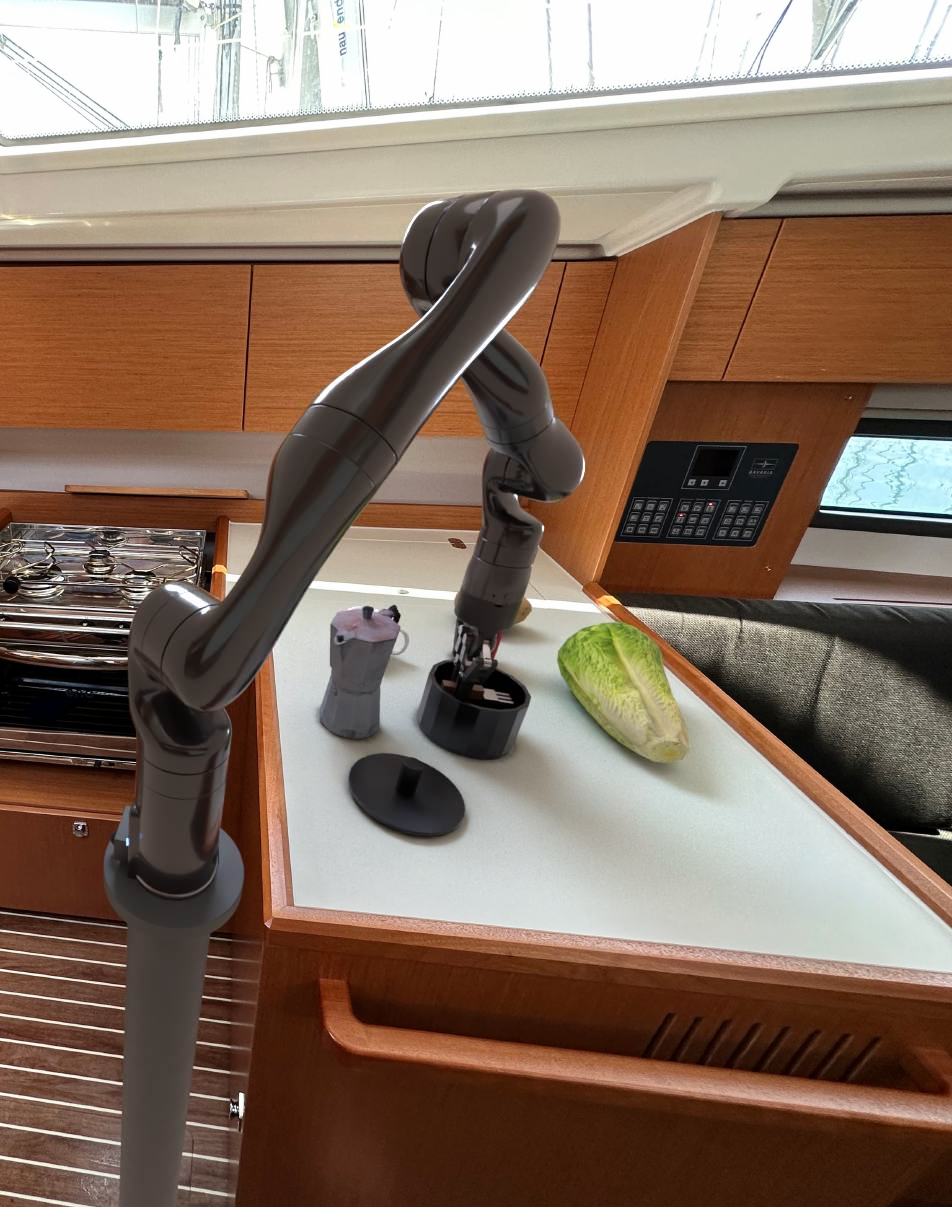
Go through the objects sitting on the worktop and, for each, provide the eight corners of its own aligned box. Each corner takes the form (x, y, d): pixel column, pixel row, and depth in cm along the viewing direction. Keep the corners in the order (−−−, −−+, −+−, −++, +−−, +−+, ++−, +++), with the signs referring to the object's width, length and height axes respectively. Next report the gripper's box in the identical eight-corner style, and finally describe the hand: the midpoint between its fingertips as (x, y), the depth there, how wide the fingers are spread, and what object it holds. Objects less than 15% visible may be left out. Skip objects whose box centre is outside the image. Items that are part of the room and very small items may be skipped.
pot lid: (351, 826, 75) (359, 792, 72) (344, 751, 87) (351, 719, 85) (474, 850, 72) (488, 815, 70) (450, 769, 85) (460, 737, 82)
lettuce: (702, 793, 86) (586, 781, 89) (631, 677, 105) (538, 670, 109) (750, 723, 78) (620, 712, 81) (664, 611, 97) (562, 606, 100)
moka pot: (292, 724, 92) (313, 607, 83) (347, 687, 102) (371, 578, 93) (348, 757, 86) (377, 635, 77) (401, 714, 96) (433, 600, 86)
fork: (442, 697, 89) (445, 688, 89) (438, 686, 92) (441, 677, 91) (512, 707, 88) (516, 698, 87) (507, 696, 90) (510, 687, 89)
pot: (424, 750, 88) (439, 702, 84) (410, 698, 99) (423, 654, 96) (524, 767, 86) (544, 718, 82) (498, 711, 97) (514, 666, 93)
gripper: (452, 565, 89) (423, 666, 97) (475, 607, 77) (440, 718, 85) (507, 572, 87) (474, 673, 95) (540, 615, 76) (498, 727, 83)
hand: (458, 693), depth 90 cm, fingers closed on fork, 1 cm apart
